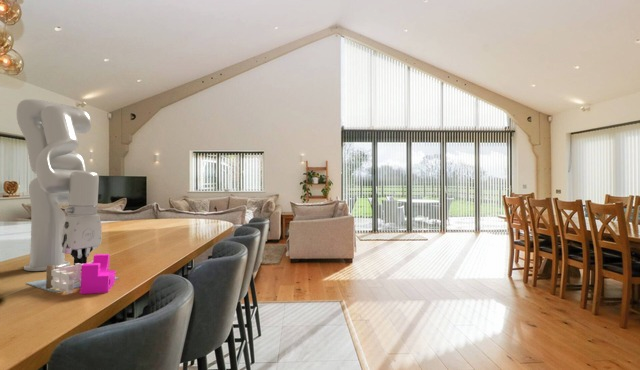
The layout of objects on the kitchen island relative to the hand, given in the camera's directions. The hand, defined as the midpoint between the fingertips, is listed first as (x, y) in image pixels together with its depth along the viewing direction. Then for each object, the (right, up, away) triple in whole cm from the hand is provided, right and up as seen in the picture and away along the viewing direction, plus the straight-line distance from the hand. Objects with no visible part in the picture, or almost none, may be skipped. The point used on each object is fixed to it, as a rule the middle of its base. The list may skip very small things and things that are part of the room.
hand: (79, 269), depth 109 cm
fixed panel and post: (+4, -2, -15) cm, 15 cm away
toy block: (+12, -3, -9) cm, 15 cm away
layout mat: (+1, -3, -4) cm, 5 cm away
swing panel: (+3, -2, -6) cm, 7 cm away
